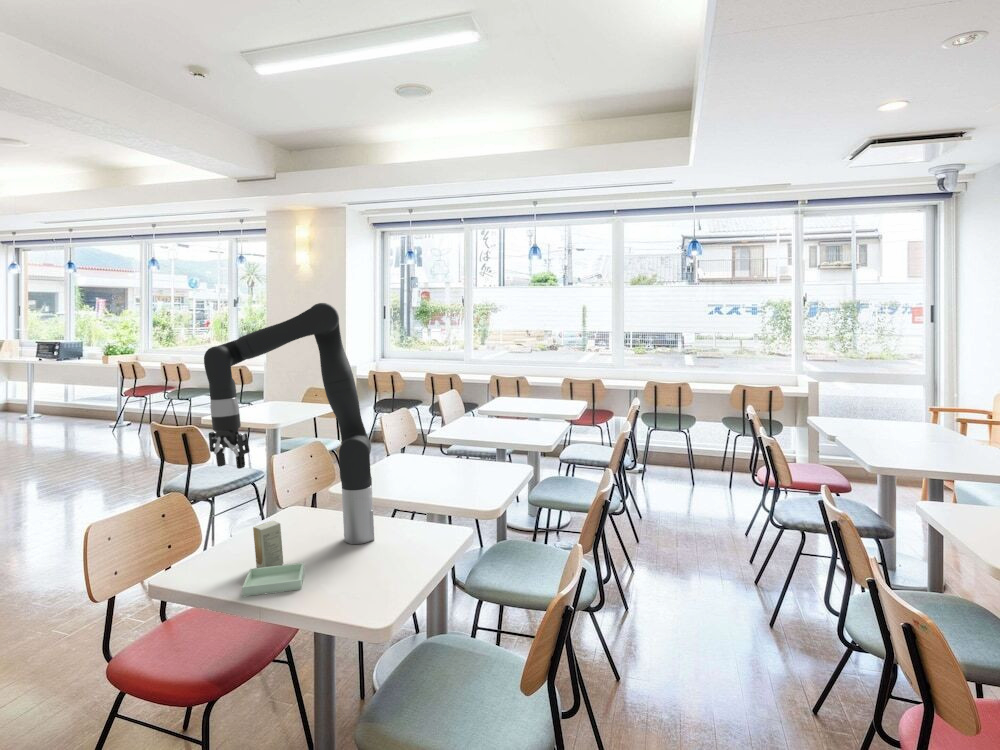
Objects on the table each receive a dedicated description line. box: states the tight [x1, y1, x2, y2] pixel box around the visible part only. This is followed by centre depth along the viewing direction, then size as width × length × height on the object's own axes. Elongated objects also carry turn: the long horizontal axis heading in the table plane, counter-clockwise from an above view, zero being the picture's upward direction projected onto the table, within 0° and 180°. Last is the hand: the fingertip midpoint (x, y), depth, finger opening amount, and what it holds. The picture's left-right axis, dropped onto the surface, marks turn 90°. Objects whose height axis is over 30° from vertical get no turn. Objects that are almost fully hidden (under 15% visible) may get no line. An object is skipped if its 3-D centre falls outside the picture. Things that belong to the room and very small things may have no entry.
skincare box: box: [252, 520, 284, 568], centre depth 162 cm, size 6×4×12 cm
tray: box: [242, 562, 305, 597], centre depth 151 cm, size 14×11×2 cm
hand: (231, 466), depth 169 cm, fingers open, 8 cm apart
